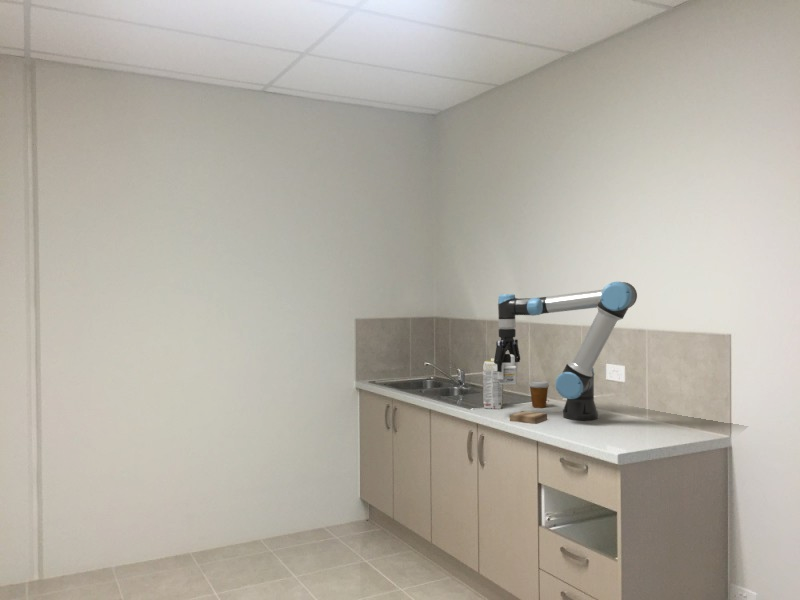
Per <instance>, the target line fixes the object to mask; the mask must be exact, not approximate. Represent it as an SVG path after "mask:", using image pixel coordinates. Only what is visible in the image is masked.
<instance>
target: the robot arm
mask: <svg viewBox="0 0 800 600" xmlns="http://www.w3.org/2000/svg"><path fill="white" fill-rule="evenodd" d="M637 299H638V292H637V290H636V288H635V287H634V286H633V284H631V283H629V282H625V281H614V282H610V283H608V284H607V285H605V286H604V287H603V288H602V289H597V290H590V291H589V290H587V291H580V292H572V293H565V294H558V295H556V294H555V295H548V296H541V297H532V298H531V297H530V298H527V297H526V298H517V297H516V295H515V294H513V293H505V294H504V293H502V294H499V295H498V299H497V300H498V302H497V303H498V304H497V307H498V308H497V309H498V310H497V311H498V317H497V318H498V328H499V329H498V337H499V338H500V340H496V342H495V343H496V345H495V346H496V348H495V352H494V354H495V355H494V357H493V358H494V363H495V364H497V371H498V379H504V364H502V363H503V360H504V357H505V354H507V352H508V354H513V355H514V356H515V364H514V365H516V378H518V363H520V361H521V355H520V349H519V345H518V344H519V340H518V339H517V338H516V337H517V335H516V331H517V330H516V316H532V317H533V316H541V315H543V314H551V313H553V314H554V313H560V312H570V311H577V310H587V309H597V313H596V315H595V317H594V319H593V321H592V323H591V325H590V326H589V328H588V330H587V333H586V335H585V336H584V338H583V340H582V342H581V344H580V346H579V348H578V350H577V351H576V353H575V356H574V357H573V359H572V360H570V361H568V362H567V363H566V365H565V367H564V369H563V370H562V372H561V373H560V374H559V375H558V376H557V378H556V380H555V389H556V391H557V393H558V395H560V396H561V397H562V398H565V399H566V401H565V404H564V408H563V410H562V417H563V418H565V419H569V420H576V421H592V420H593V421H594V420H597V419H599V412H598V409H597V406H596V402H595V390H594V389H595V381H594V380H595V371H594V368H593V367H594V365H595V364H596V362H597V361H598V358H599V356H600V354H601V352H602V351H603V349H604V346H605V345H606V343H607V341H608V339H609V338H610V336H611V333H612V332H613V330H614V327H615V326H616V325H617V322H619V321H621V320H623V319H624V317H625V315H626V314H627V311H628V310H629V309H630V308H632V307H633V306H634V305H635V303H636V302H637Z"/></svg>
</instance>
